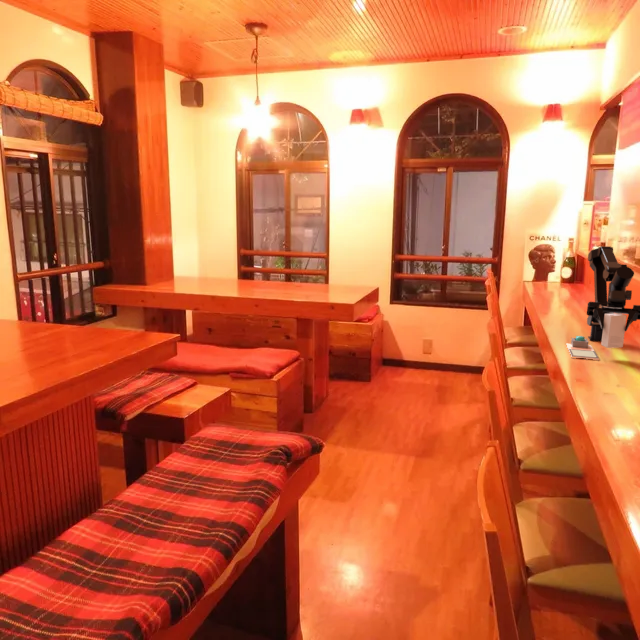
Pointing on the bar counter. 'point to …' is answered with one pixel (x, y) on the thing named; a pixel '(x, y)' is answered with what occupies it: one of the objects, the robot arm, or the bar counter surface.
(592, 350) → the picture board
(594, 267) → the robot arm
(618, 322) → the skincare box
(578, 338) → the button
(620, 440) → the bar counter surface
